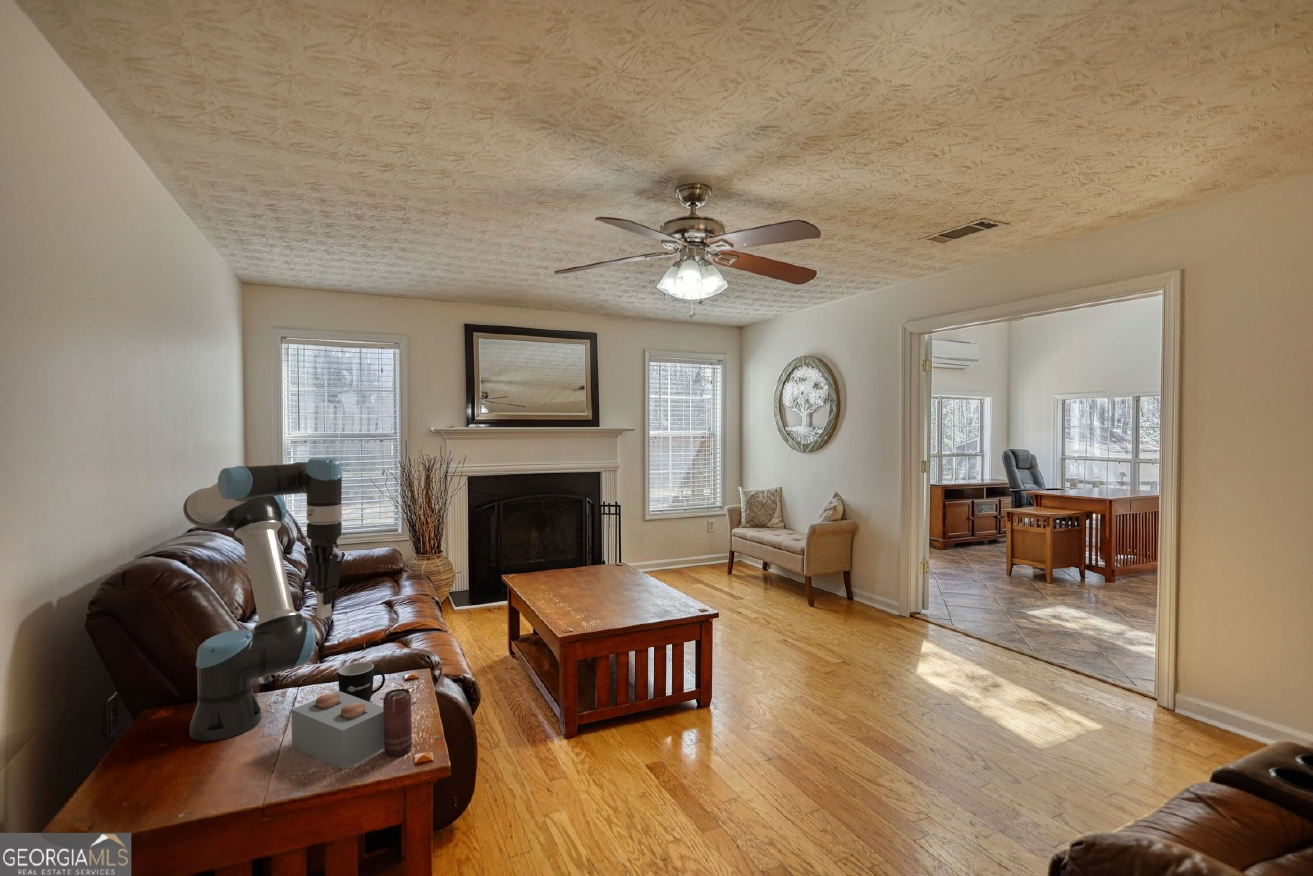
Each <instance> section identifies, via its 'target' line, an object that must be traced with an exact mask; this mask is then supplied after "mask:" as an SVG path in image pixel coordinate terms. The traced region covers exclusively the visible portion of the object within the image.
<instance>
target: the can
mask: <svg viewBox="0 0 1313 876" xmlns="http://www.w3.org/2000/svg"><path fill="white" fill-rule="evenodd" d="M382 703H383V706H382V707H383V712H384V750H383V751H384V754H385V755H386V756H387V757H390V758H397V757H402V756H404V755H407V754H408V753H409V752H410V751H411V749H412V747H413V735H412V734H413V730H412V728H413V727H412V726H413V725H412V724H413V723H412V719H413V718H412V693H411V692H410V690H409V689H407V688H397V689H395V688H394V689H392V690H389V691H387V692H386V693H385V694H384V697H383V700H382Z"/></svg>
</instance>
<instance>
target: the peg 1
mask: <svg viewBox="0 0 1313 876" xmlns="http://www.w3.org/2000/svg"><path fill="white" fill-rule="evenodd" d="M315 700H316V706H317V707H319V709H322V710H327V709H329V708H332V707H334V706H336V704H337V703H338V702H339V701H340V696H339V695H338V694H331V693H326V694H322V695H320V696H318V697H317V698H316V699H315Z"/></svg>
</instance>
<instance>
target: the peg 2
mask: <svg viewBox="0 0 1313 876" xmlns="http://www.w3.org/2000/svg"><path fill="white" fill-rule="evenodd" d="M364 712H365V704H363V703H353V704H349V705H346V706H344V707H343V708H342V709H341V716H343V717H345V719H347V720H350V721H351V720H353V719H355V718H358V717H360V716H362V713H364Z"/></svg>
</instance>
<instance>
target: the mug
mask: <svg viewBox="0 0 1313 876" xmlns="http://www.w3.org/2000/svg"><path fill="white" fill-rule="evenodd" d="M374 666H375V665H374V664H373V663H371V662H369V661H368V662H367V661H358V662H352V663H349V664H346V665H343V666H341V667H340V668H339V669H338V671H337V681H338V682H337V683H338V684H337V685H338V691H340V692H343V693H346V694H349V695H351V696H354V697H357V698H360V699H362V700H365V701H368V702H370V701H371V699H372V696H373V695H374V694H375V693H377V692H379V691H380V690H381V689H382V688H383V686H384V685H385V683H386V676H385V673H384V672H383V671H381V670H379V669H375V667H374ZM376 673H377V674H380V675H381V677H382V679H381V680H382V681H381V683H380V685H379V686H378V687H376V688H375V689H374V677H375V674H376Z"/></svg>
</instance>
